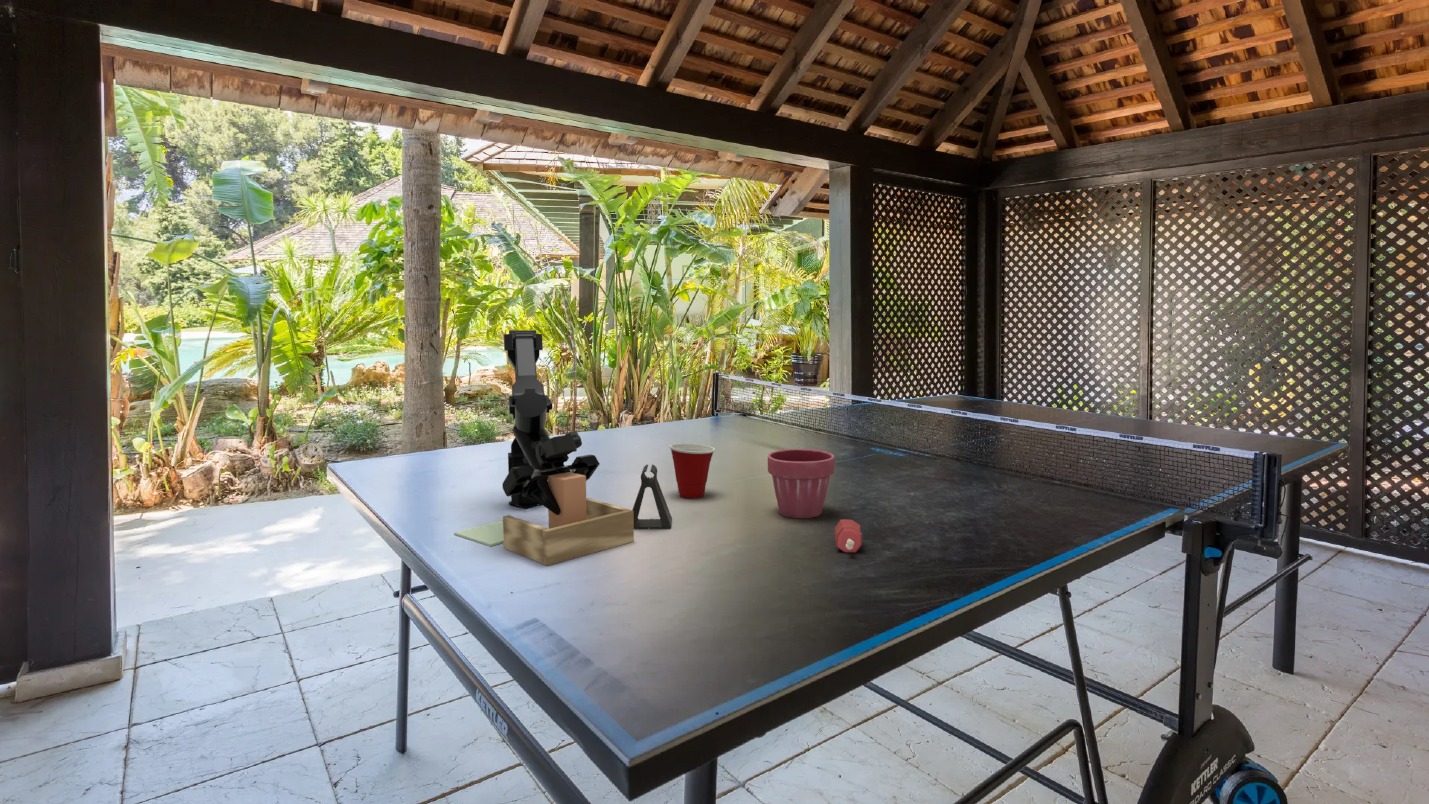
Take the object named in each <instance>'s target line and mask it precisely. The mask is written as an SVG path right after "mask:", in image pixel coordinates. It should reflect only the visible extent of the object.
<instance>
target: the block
mask: <svg viewBox="0 0 1429 804" xmlns="http://www.w3.org/2000/svg"><path fill="white" fill-rule="evenodd" d="M548 486H549V488H550V490H551V492H552V494H553V496H554V498H555V500H556V501H557V503H558V505H559V508H560V511H561V512H560V514H559V515H556V514H555V513H553V512H552V511H550V510H549V509H548V510H547V512H548V529H551V528H555V527H559V526H563V525H567V524H571V523H575V522H580V521H584V520H587V516H586V498H587V481H586V476H584V475H580V474H576V473H572V472H567V473H561V474H555V475H550V476H548Z"/></svg>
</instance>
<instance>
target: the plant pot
mask: <svg viewBox="0 0 1429 804" xmlns="http://www.w3.org/2000/svg"><path fill="white" fill-rule="evenodd" d="M767 472H768V474H770V475H771V476H772V477H771V478H772V482H773V483H772V484H773V489H774V494H775V498H776V502H777V507H778V512H779V513H780V515H782V516H784V517H788V518H793V519H809V518H815V517H818V516H820V515H821V514H822V513H823V507H824V504H825V500H826V495H827V493H828V487H829V483H830V479H831V478H830V477H831V476H832V475H834V473H835V455H834V454H832V453H831V452H828V451H825V450H819V449H818V450H817V449H811V448H810V449H809V448H787V449H779V450H776V451H772V452H770V453H768V455H767Z"/></svg>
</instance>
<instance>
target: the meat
mask: <svg viewBox="0 0 1429 804" xmlns="http://www.w3.org/2000/svg"><path fill="white" fill-rule="evenodd" d="M834 539H835V547H837V548H838V549H839V550H841V551H842V552H843V553H854V554H855V553H857V551H858V550H859V549H860V548H861V547H862V545H863V533H862V531H861V524H859V523H857V522H856V521H855V520H853V519H845V518H844V519H843V518H842V519H839V521H838V523H837V524H836V525H835V527H834Z"/></svg>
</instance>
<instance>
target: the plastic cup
mask: <svg viewBox="0 0 1429 804" xmlns="http://www.w3.org/2000/svg"><path fill="white" fill-rule="evenodd" d="M669 449H670V451H671V455H672V456H671V457H672V461H673V467H674V474H675V481H676V484H677V490H678V494H679V497H680V498H683V499H700V498H703V497H704V495H705V492H706V486H707V481H708V475H709V471H710V465H711V461H712V457H713V454H714V452H715V451H716V448H715V447H714V446H711V445H707V444H701V443H694V442H693V443H691V442H680V443H679V442H677V443H672V444H669Z"/></svg>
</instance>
